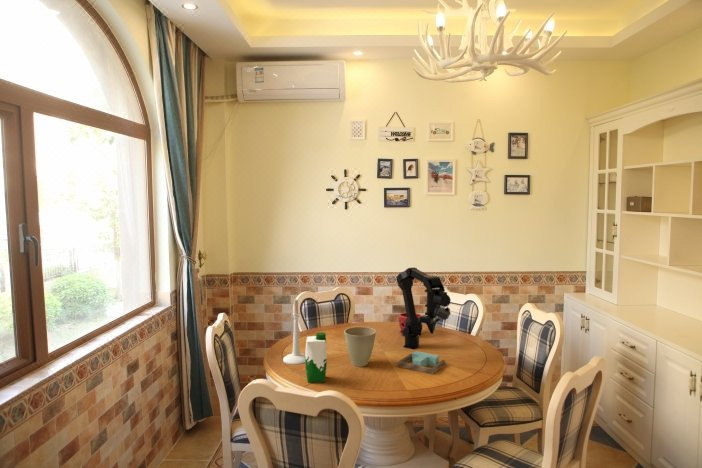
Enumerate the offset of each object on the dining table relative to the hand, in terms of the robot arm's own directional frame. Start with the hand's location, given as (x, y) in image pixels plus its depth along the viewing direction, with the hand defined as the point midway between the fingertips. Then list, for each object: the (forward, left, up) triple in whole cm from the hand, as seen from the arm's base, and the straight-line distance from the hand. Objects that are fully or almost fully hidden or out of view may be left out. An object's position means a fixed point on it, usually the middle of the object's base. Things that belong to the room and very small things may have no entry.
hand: (432, 333), depth 221 cm
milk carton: (-30, -54, -12) cm, 63 cm away
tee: (+1, -13, -12) cm, 18 cm away
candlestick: (-53, -40, -12) cm, 68 cm away
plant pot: (-24, -28, -12) cm, 39 cm away
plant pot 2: (-25, +28, -12) cm, 40 cm away
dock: (+1, -13, -12) cm, 18 cm away
